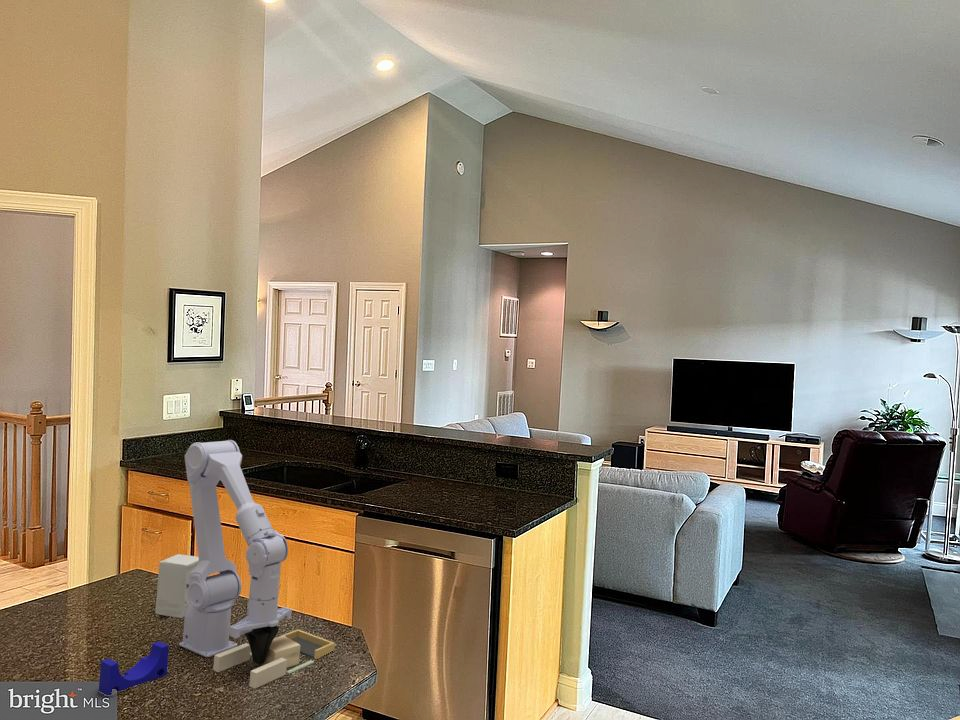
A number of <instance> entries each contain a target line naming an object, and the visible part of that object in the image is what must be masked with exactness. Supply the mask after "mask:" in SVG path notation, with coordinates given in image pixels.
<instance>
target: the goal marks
mask: <svg viewBox="0 0 960 720" xmlns="http://www.w3.org/2000/svg"><path fill="white" fill-rule="evenodd" d="M250 657H252V653H251V652H250ZM313 664H315V661H313V660H311V659H310V660H309V661H306V662H304V663H302V664H298V665H296V666H295V667H292V668H291V669H289V670H286V674H288V675H291V674H294V673H296V672H298V671H300V670H302V669H304V668H306V667H308V666H311V665H313Z"/></svg>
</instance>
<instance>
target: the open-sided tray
mask: <svg viewBox="0 0 960 720" xmlns="http://www.w3.org/2000/svg"><path fill="white" fill-rule="evenodd" d="M281 636H286V637H287V638H289V639H291V640H293V641H295V642H296V643H298V644H300V655H303V656H306V657H309V658H312V659H315V660H317V659H319V658H322V657H325V656H327V655H328V653H329V654H331V653H332V652H331V651H333V650H334V651H335V646H336V643H335V642H333V641H331V640H328V639H325V638H323V637H321V636H318V635H314V634H311V633H309V632H306V631H304V630H301V629H294V630H292V631H290V632H288V633H284V634H282V635H280V636H278V637H281ZM334 651H333V652H334ZM330 652H331V653H330ZM326 654H327V655H326ZM324 655H325V656H324Z"/></svg>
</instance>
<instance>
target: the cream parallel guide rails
mask: <svg viewBox="0 0 960 720" xmlns="http://www.w3.org/2000/svg"><path fill="white" fill-rule="evenodd" d="M250 652H251V649H250V645H249V643H247V642H244V643H242V644H240V645H237V647H234V648H231V649H229V650H226V651H224V652H221V653H218V654H216V655H213V656H214V657H213V667H212V668H213V669H212V670H213V671H215V672H217V673H220V672H222V671H225V670H228V669H229V668H232V667H235V666H237V665H240V664H242V663H244V662H247V661H249V660H251V656H250ZM286 666H287V659H284V658H280V659H277V660H275V661H273V662H270V663H268V664H266V665H261V666H258V667H256V668H253V669H252V670H250V675H249V687H250V688H251V689H252V688H253V689H258V688H259V687H261V686H264V685H266V684H268V683H271V682H272V681H275V680H276V679H280V678H282V677H284V676H286V674H287V673H286V671H287V668H286Z"/></svg>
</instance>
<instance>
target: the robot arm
mask: <svg viewBox="0 0 960 720" xmlns="http://www.w3.org/2000/svg"><path fill="white" fill-rule="evenodd" d="M242 461H243V454H242V453H241V451H240V447H239V446H238V444H237V442H236V441H235V440H233V439H226V440H221V441H218V440H217V441H207V442H199V441H198V442H197V441H196V442H193V443H192V444H190V446H189V447H188V449H187V450H186V452H185V454H184V463H185V464H184V465H185V471H186V479H187V482H188V484H189V492H190V501H191V508H192V516H193V524H194V532H195V539H196V547H197V555H198V556H197V557H199V564H198V565H197V566H196V567H195V568H194V569H193V571H192V572H191V573H190V574H189V589H188V599H189V601H190V603H191V605H190V606H189V607H188V609H187V611H186V613H185V616H184V617H183V635H182V641H181V642H179V643H178V645H179V646H180V647H183V648H184V649H186V650H189V651H191V652H192V653H195V654H198V655H200V656H202V657H205V658H210V657H211V658H212V657H213V656H214V655H216V654H219V653H222V652H224V651H227V650H229V649H232V648H235V647H237V646H238V643H236V642H234V641H231V640H230V637H231V638H234V639H239V638H240V637H241V636H242V635H244V636H245V638H246V640H247V642H248V644H249V645H250V649H251V653H252V656H251V658H252V662H253V663H255V664H257V665H262V663H264V662H265V659H266V656H267V653H268V650H269V648H270V645H271V643H272V641H273V639H274V638H276V636H277V635H278V633H279V626H278V625H279V622H281V621H283V620H290V619H292V613H293V612H292V611H293V609H291V608H289V607H287V606H285V607H281V608H278V607H279V606H278V604H279V595H280V594H279V593H280V578H281V570H282V569H281V567H282V563H283V562H284V561H285V560H286V559H287V557H288V554H289V545H288V542H287V540H286V538H285V537H284V535H282V534H280V533H279V532H278V530H276V529H274V528H273V526H272V524H271V522H270V520H269V518H268V515H267V514H266V512H265V510H264V507H263V506H262V504H259V503H256V502H255V501H254V499H253V497H252V494H251V491H250V488H249V486H248V484H247V480H246V478H245V476H244V473H243V470H242V468H241V465H242ZM220 481H221V484H222V485H223V486H224V488H225V490H226V492H227V493H228V495H229V498H230V500H232V502H233V504H234V505H235V507H236V509H237V512H236V514H235V521H236V523H237V525H238V527H239V529H240V531H241V535H242V536H243V539H244V540H245V542H246V544H247V549H246V550H245V558H246V561H247V564H248V574H249V575H250V582H249V583H250V584H249V592H248V593H249V594H248V609H247V616H246V617H243V618H242V619H241V620H239V621H238V622H237V623H235V624H232V625H231V617H232V606H233V605H235V601H236V600H237V598H239V596H240V595H241V592H242V581H241V578H240V576H239V574H238V571H237V566H236V565H237V564H236V563H234V562H233V561H231V560H229V558H226V551H225V546H224V545H225V544H224V537H223V530H222V523H221V514H220V508H219V507H220V506H219V505H220V504H219V500H218V499H219V498H218V494H217V493H218V491H217V485H218V484H219V482H220ZM216 573H217V574H216Z"/></svg>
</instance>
